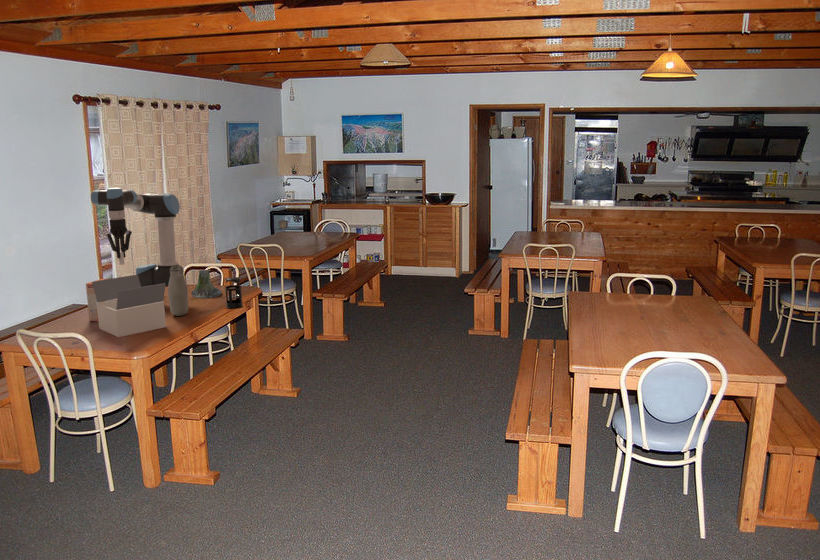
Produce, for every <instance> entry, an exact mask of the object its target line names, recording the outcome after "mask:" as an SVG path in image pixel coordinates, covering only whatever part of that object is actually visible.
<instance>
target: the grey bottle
mask: <svg viewBox="0 0 820 560" xmlns="http://www.w3.org/2000/svg"><path fill="white" fill-rule="evenodd" d="M184 272H185V270H184V267H183V266H181V265H180V264H179V265H175V266H172V267H170V281H169V285H168V287H167V293H168V302H169V303H168V305H169V311H170V313H171V315H173V316H176V317H180V316H181V317H182V316H185V315H186V314H187V313H188V311H189V291H188V283H187V281H186V278H185V273H184Z"/></svg>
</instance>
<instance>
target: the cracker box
mask: <svg viewBox="0 0 820 560" xmlns="http://www.w3.org/2000/svg"><path fill="white" fill-rule="evenodd" d="M106 279H107V278H100V279H97V280H95V281H99V280H106ZM92 282H93V281H91V282H86V283H85V290H86V298H87V308H88V309H87V311H88V321H89V322H98V313H97V303H101V302H106V301H112V300H114V299H112V300H106V301H100V302H97V300H96V296H95V292H94V288H93V284H92ZM98 323H99V322H98Z"/></svg>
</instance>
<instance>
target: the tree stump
mask: <svg viewBox="0 0 820 560" xmlns="http://www.w3.org/2000/svg"><path fill="white" fill-rule="evenodd" d="M198 273H199V274H198V279H197V284H196V285H195V288H194V289H193V290H191V292H190V294H191V295H192V297H193V298H196V299H213V298H217V297H219V296H220V297H221V296H222V291H223V290H222V289H219V288H217V287H215V286H214V285H213V283H212V282H211V276H210V275H211V274H210V270H209V269H202V270H198Z"/></svg>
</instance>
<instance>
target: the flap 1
mask: <svg viewBox="0 0 820 560" xmlns="http://www.w3.org/2000/svg"><path fill="white" fill-rule="evenodd" d="M105 279H106V280H99V279H98V280H99V281H96V280H94V281H91V282H92V284H93V288H94V292H95V296H96V300H97V302H100V301H106V300H112V299H113V300H117V297H118V291H120V290H126V289H132V288H138V287H141V285H140V281H139V277H138V275H136V274H134V275H133V274H132V275H127V276H119V277H113V278H105Z"/></svg>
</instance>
